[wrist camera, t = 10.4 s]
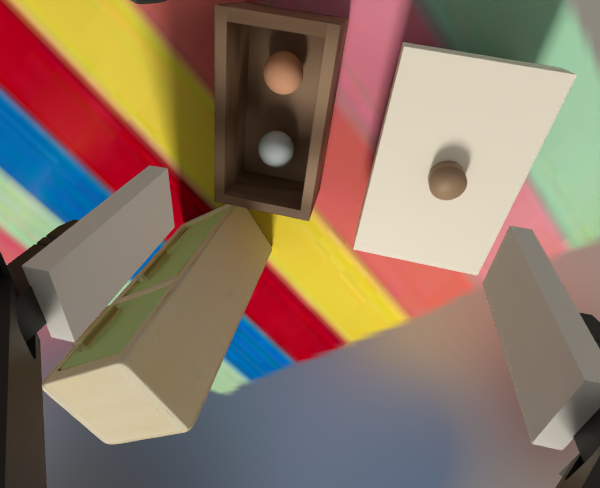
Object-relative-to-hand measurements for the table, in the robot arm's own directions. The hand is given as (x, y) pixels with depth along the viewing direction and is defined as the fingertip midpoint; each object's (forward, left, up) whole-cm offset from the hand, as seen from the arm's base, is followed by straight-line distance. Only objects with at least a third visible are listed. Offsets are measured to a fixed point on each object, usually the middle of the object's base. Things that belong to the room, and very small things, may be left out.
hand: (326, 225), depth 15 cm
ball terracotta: (-2, -6, -19) cm, 20 cm away
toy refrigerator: (+15, -11, -20) cm, 27 cm away
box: (+1, -6, -20) cm, 21 cm away
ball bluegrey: (+4, -6, -19) cm, 20 cm away
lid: (+2, +7, -16) cm, 18 cm away
